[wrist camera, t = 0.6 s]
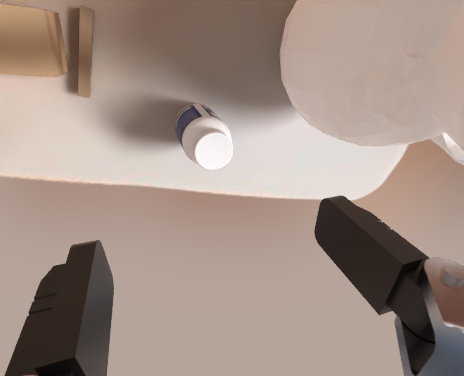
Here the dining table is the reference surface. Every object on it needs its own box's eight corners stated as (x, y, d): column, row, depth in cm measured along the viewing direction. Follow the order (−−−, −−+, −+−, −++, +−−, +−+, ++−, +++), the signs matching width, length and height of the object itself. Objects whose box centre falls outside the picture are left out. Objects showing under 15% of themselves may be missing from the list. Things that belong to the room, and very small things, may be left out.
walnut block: (-7, 5, 23) (-37, -2, 19) (58, 13, 25) (43, 9, 21) (10, 67, 26) (-14, 72, 22) (68, 71, 27) (57, 77, 23)
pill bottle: (175, 145, 34) (187, 179, 26) (172, 103, 32) (185, 126, 24) (215, 142, 36) (238, 173, 28) (215, 102, 33) (241, 123, 25)
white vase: (235, -16, 28) (515, -158, 7) (382, -73, 30) (947, -319, 9) (272, 138, 38) (432, 257, 18) (380, 90, 40) (640, 147, 19)
